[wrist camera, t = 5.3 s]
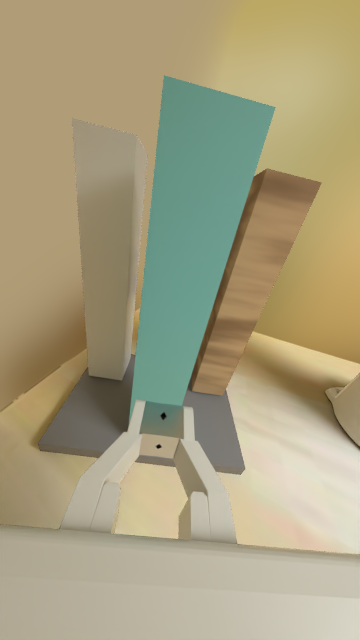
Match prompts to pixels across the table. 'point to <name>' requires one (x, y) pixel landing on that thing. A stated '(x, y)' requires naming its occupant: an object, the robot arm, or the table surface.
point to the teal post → (191, 227)
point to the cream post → (109, 240)
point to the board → (113, 419)
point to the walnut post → (251, 272)
